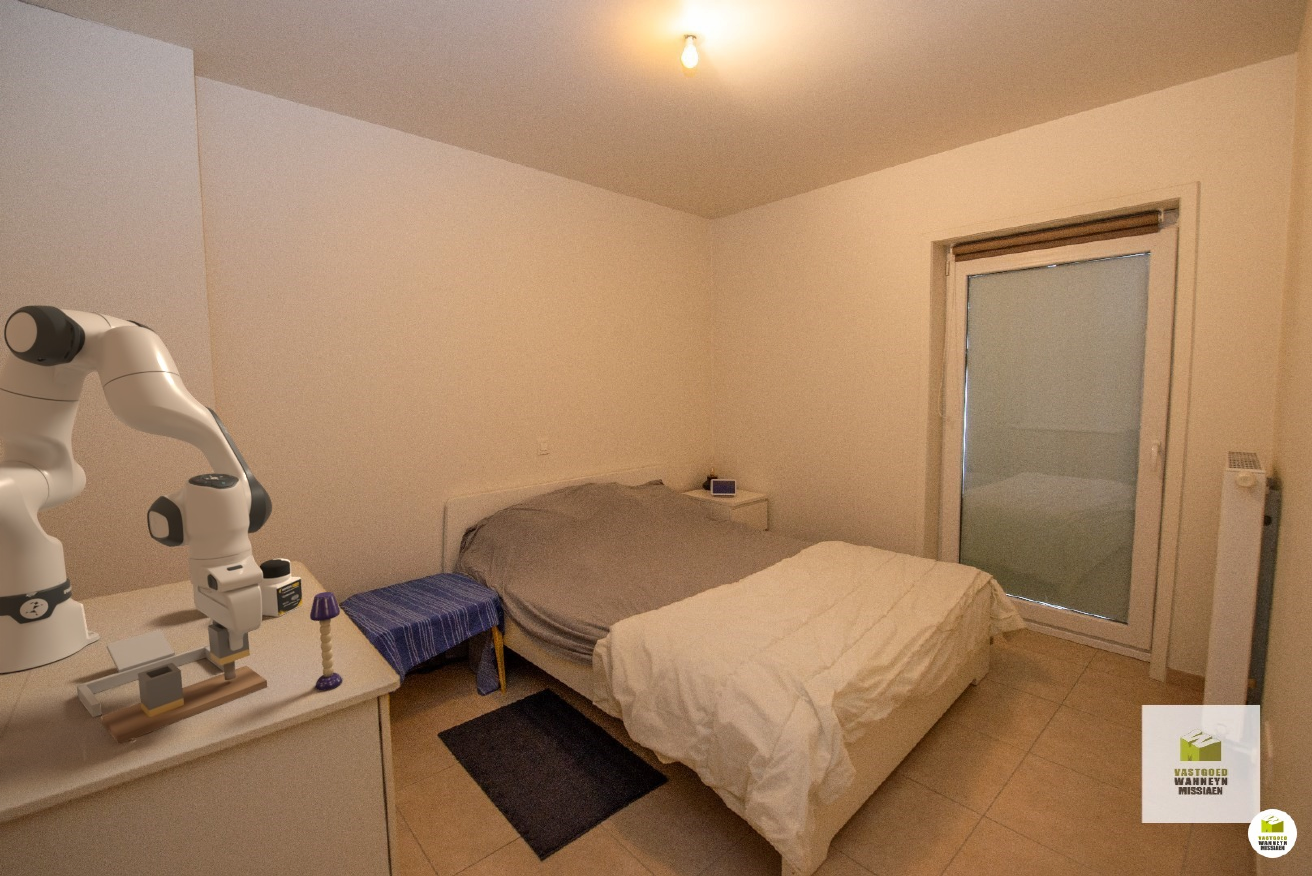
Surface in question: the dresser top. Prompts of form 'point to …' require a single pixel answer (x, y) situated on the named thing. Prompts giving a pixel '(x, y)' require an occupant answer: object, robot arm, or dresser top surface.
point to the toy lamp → (326, 637)
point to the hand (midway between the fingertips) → (229, 644)
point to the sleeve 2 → (225, 645)
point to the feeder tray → (137, 663)
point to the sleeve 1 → (160, 689)
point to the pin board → (186, 703)
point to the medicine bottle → (279, 588)
